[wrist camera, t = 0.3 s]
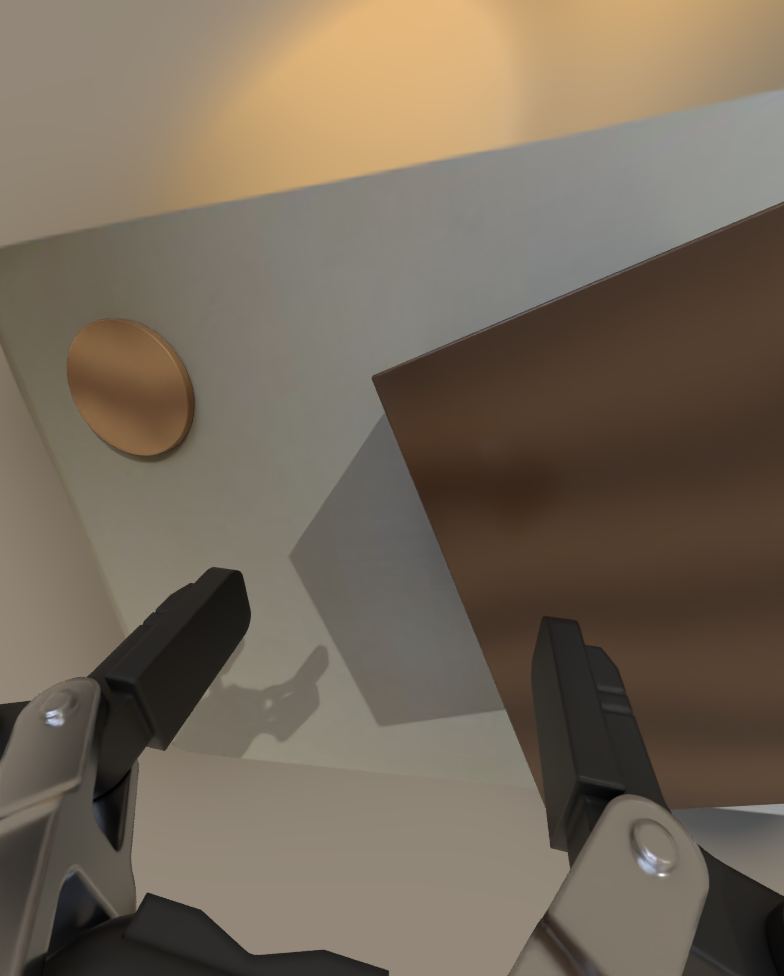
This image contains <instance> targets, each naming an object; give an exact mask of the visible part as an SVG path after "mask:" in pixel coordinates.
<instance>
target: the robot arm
mask: <svg viewBox="0 0 784 976" xmlns="http://www.w3.org/2000/svg"><path fill="white" fill-rule="evenodd" d="M250 619H251V610H250V605H249V601H248V596H247V592H246V587H245V583H244V578H243V575H242V573H241V572H240V571H238V570H231V569H224V568H217V567H212V568H210V569H208V570H207V571H206V572H205V573H204V574H203V575H202V576H201V577H200V578H199V579H198V580H197V581H196V582H195V583H190V584H188V585H186V586H185V587H183V588H181V589H180V590H178V591H176V592H175V593H173V594H171V595H170V596H169V597H168V598H167V599H166V600H165V601H164V602H163V603H162V604H161V605H160V606H159V607H158V608H157V609H156V612H155V613H154V612H153V613H152V614H151V615H150V616H149V617H148V618H147V619H146V620H145V621H144V623H143V625H140V626H139V627H138V628H137V629H136V630H135V631H134V632H133V633H131V634H130V635H129V636H128V637H127V638H126V639H125V640H124V641H123V642H122V643H121V644H120V645H119V646H118V647H117V648H116V649H115V650H114V651H113V652H112V653H111V654H110V655H109V656H108V657H107V658H106V659H105V660H104V661H103V662H102V663H101V664H100V665H99V666H98V667H97V668H96V669H95V670H94V671H93V672H92V673H91V674H90V675H88V676H87V677H77V678H72V679H68V680H65V681H62V682H60V683H58V684H55V685H53V686H52V687H50V688H48V689H46V690H45V691H43V692H42V693H40V694H39V695H38V696H37V697H35V698H34V699H33V700H32V701H25V702H16V703H8V704H0V976H389V971H388V970H385V969H382V968H379V967H375V966H373V965H370V964H367V963H363V962H360V961H357V960H354V959H351V958H348V957H345V956H342V955H339V954H335V953H332V952H329V951H326V950H314V951H302V952H291V953H279V954H267V955H253V954H250V953H248V952H247V951H246V950H245V949H243V948H242V947H241V946H240V945H239V944H238V943H237V942H236V941H235V940H233V939H232V938H231V937H230V936H229V935H228V934H227V933H226V932H225V931H224V930H223V929H221V928H220V927H219V926H218V925H217V924H216V923H215V922H214V921H213V920H212V919H210V918H209V917H208V916H207V915H206V914H205V913H204V912H203V911H202V910H200V909H197V908H194V907H190V906H187V905H184V904H181V903H178V902H175V901H171V900H169V899H166V898H163V897H159V896H156V895H153V894H150V893H147V894H146V895H145V897H144V899H143V901H142V902H141V904H140V906H139V908H138V910H137V911H136V888H135V881H134V876H133V872H132V864H131V851H132V839H133V828H134V817H135V806H136V795H137V784H138V773H139V763H138V759H137V758H138V757H139V755H140V754H141V753H142V751H143V750H144V749H145V747H146V746H147V747H151V748H155V749H160V750H163V751H165V750H166V749H167V747H168V746H169V744H170V743H171V741H172V740H173V738H174V737H175V735H176V734H177V733H178V731H179V730H180V728H181V727H182V725H183V724H184V722H185V721H186V719H187V718H188V717H189V715H190V714H191V712H192V711H193V709H194V708H195V706H196V705H197V703H198V702H199V701H200V699H201V698H202V696H203V695H204V693H205V692H206V690H207V689H208V687H209V686H210V685H211V683H212V682H213V680H214V679H215V677H216V676H217V674H218V673H219V672H220V670H221V669H222V667H223V666H224V664H225V663H226V661H227V660H228V658H229V657H230V656H231V654H232V653H233V651H234V650H235V648H236V647H237V645H238V644H239V642H240V641H241V640H242V638H243V637H244V635H245V634H246V632H247V630H248V627H249V624H250ZM531 686H532V694H533V703H534V711H535V720H536V728H537V737H538V745H539V754H540V762H541V771H542V779H543V788H544V796H545V805H546V813H547V822H548V830H549V839H550V847H551V848H553V849H557V850H561V851H565V852H568V857H569V863H570V871H569V873H568V874H567V876H566V878H565V880H564V882H563V883H562V885H561V887H560V889H559V891H558V892H557V894H556V896H555V897H554V899H553V901H552V903H551V904H550V906H549V908H548V910H547V911H546V913H545V915H544V916H543V918H542V919H541V920H540V921H539V923H538V924H537V926H536V927H535V929H534V931H533V933H532V934H531V936H530V938H529V939H528V941H527V943H526V944H525V946H524V948H523V950H522V951H521V953H520V955H519V957H518V958H517V960H516V962H515V964H514V965H513V967H512V969H511V971H510V972H509V974H508V976H784V896H782V895H780V894H778V893H777V892H774V891H773V890H771V889H769V888H767V887H766V886H764V885H762V884H760V883H758V882H757V881H755V880H753V879H751V878H749V877H747V876H746V875H744V874H742V873H740V872H738V871H737V870H735V869H733V868H731V867H729V866H727V865H726V864H724V863H723V862H721V861H719V860H718V859H716V858H714V857H713V856H712V855H711V854H709V853H708V852H707V851H705V850H704V849H703V848H701V846H699V845H698V844H697V843H696V842H695V840H694V839H693V837H692V836H691V834H690V833H689V832H688V830H687V829H686V828H685V827H684V826H683V825H682V823H681V822H680V821H679V820H678V819H677V818H676V817H675V816H674V815H672V813H671V811H670V810H669V808H668V806H667V804H666V802H665V800H664V797H663V795H662V792H661V789H660V786H659V784H658V781H657V778H656V775H655V772H654V769H653V766H652V764H651V761H650V758H649V755H648V752H647V749H646V746H645V744H644V741H643V738H642V735H641V732H640V729H639V726H638V724H637V721H636V718H635V716H633V709H632V706H631V704H630V701H629V698H628V696H626V689H625V686H624V684H623V681H622V678H621V675H620V672H619V669H618V667H617V666H616V665H615V664H614V662H613V661H612V660H611V659H610V657H609V656H608V655H607V654H606V652H605V651H604V650H603V649H602V647H596V646H590V645H585V643H584V639H583V635H582V632H581V628H580V625H579V623H578V621H577V620H572V619H565V618H558V617H551V616H543V617H542V620H541V624H540V628H539V632H538V636H537V641H536V645H535V649H534V654H533V658H532V665H531Z"/></svg>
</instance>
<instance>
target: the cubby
mask: <svg viewBox="0 0 784 976" xmlns="http://www.w3.org/2000/svg"><path fill="white" fill-rule="evenodd" d="M372 381H373V383H374V386H375V388H376V391H377V393H378V396H379V398H380V400H381V403H382V405H383V408H384V410H385V413H386V415H387V418H388V420H389V423H390V425H391V428H392V430H393V433H394V435H395V438H396V440H397V442H398V445H399V447H400V450H401V452H402V455H403V457H404V460H405V462H406V465H407V467H408V470H409V472H410V475H411V477H412V479H413V482H414V484H415V487H416V489H417V492H418V494H419V497H420V499H421V502H422V504H423V507H424V509H425V512H426V514H427V516H428V519H429V521H430V524H431V526H432V529H433V531H434V534H435V536H436V539H437V541H438V544H439V546H440V549H441V551H442V554H443V556H444V558H445V561H446V563H447V566H448V568H449V571H450V573H451V576H452V578H453V581H454V583H455V586H456V588H457V591H458V593H459V595H460V598H461V600H462V603H463V605H464V608H465V610H466V613H467V615H468V618H469V620H470V623H471V625H472V628H473V630H474V632H475V635H476V637H477V640H478V642H479V645H480V647H481V650H482V652H483V655H484V657H485V660H486V662H487V665H488V667H489V669H490V672H491V674H492V677H493V679H494V682H495V684H496V687H497V689H498V692H499V694H500V697H501V699H502V702H503V704H504V707H505V709H506V711H507V714H508V716H509V719H510V721H511V724H512V726H513V729H514V731H515V734H516V736H517V739H518V741H519V744H520V746H521V748H522V751H523V753H524V756H525V758H526V761H527V763H528V766H529V768H530V771H531V773H532V776H533V778H534V781H535V783H536V785H537V788H538V790H539V793H540V795H541V798H542V800H543V803H544V805H545V796H544V788H543V779H542V771H541V762H540V754H539V745H538V737H537V728H536V720H535V711H534V703H533V694H532V686H531V665H532V658H533V654H534V649H535V645H536V641H537V636H538V632H539V628H540V624H541V620H542V617H543V616H551V617H558V618H565V619H572V620H577V621H578V623H579V625H580V628H581V632H582V635H583V639H584V643H585V645H590V646H596V647H602V649H603V650H604V651H605V652H606V654H607V655H608V656H609V657H610V659H611V660H612V661H613V662H614V664H615V665H616V666H617V667H618V669H619V672H620V675H621V678H622V681H623V684H624V686H625V689H626V696H628V698H629V701H630V704H631V706H632V709H633V716H635V718H636V721H637V724H638V726H639V729H640V732H641V735H642V738H643V741H644V744H645V746H646V749H647V752H648V755H649V758H650V761H651V764H652V766H653V769H654V772H655V775H656V778H657V781H658V784H659V786H660V789H661V792H662V795H663V797H664V800H665V802H666V804H667V806H668V808H669V810H675V809H693V808H713V807H731V806H749V805H767V804H784V202H782V203H779V204H777V205H774V206H772V207H770V208H767V209H765V210H763V211H760V212H758V213H756V214H753V215H751V216H749V217H746V218H744V219H741V220H739V221H737V222H734V223H732V224H730V225H727V226H725V227H723V228H720V229H718V230H715V231H713V232H711V233H708V234H706V235H704V236H701V237H699V238H697V239H694V240H692V241H690V242H687V243H685V244H682V245H680V246H678V247H675V248H673V249H671V250H668V251H666V252H664V253H661V254H659V255H656V256H654V257H652V258H649V259H647V260H645V261H642V262H640V263H638V264H635V265H633V266H631V267H628V268H626V269H623V270H621V271H619V272H616V273H614V274H612V275H609V276H607V277H605V278H602V279H600V280H598V281H595V282H593V283H590V284H588V285H586V286H583V287H581V288H579V289H576V290H574V291H572V292H569V293H567V294H564V295H562V296H560V297H557V298H555V299H553V300H550V301H548V302H546V303H543V304H541V305H539V306H536V307H534V308H531V309H529V310H527V311H524V312H522V313H520V314H517V315H515V316H513V317H510V318H508V319H506V320H503V321H501V322H498V323H496V324H494V325H491V326H489V327H487V328H484V329H482V330H480V331H477V332H475V333H472V334H470V335H468V336H465V337H463V338H461V339H458V340H456V341H454V342H451V343H449V344H447V345H444V346H442V347H439V348H437V349H435V350H432V351H430V352H428V353H425V354H423V355H421V356H418V357H416V358H414V359H411V360H409V361H406V362H404V363H402V364H399V365H397V366H395V367H392V368H390V369H388V370H385V371H383V372H380V373H378V374H376V375H373V376H372ZM545 808H546V805H545Z"/></svg>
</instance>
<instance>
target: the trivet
mask: <svg viewBox="0 0 784 976" xmlns="http://www.w3.org/2000/svg"><path fill="white" fill-rule="evenodd" d="M67 376H68V383H69V387H70V391H71V394H72V397H73V399H74V402H75V404H76V406H77V408H78V410H79V412H80V413H81V415H82V416H83V418H84V419H85V421H86V422H87V423H88V425H89V426H90V427H91V428H92V429H93V430H94V431H95V432H96V433H97V434H98V435H99V436H100V437H101V438H102V439H104V440H105V441H106V442H107V443H109V444H111V445H112V446H114V447H115V448H118V449H120V450H122V451H124V452H127V453H130V454H135V455H143V456H148V455H156V454H160V453H162V452H165V451H167V450H170V449H172V448H173V447H175V446H176V445H178V444H179V443H180V442H181V441H182V440H183V438H184V437H185V436H186V434H187V432H188V431H189V429H190V426H191V423H192V420H193V415H194V395H193V389H192V385H191V381H190V378H189V376H188V373H187V371H186V369H185V367H184V365H183V363H182V361H181V360H180V358H179V357H178V355H177V354H176V352H175V351H174V350H173V349H172V347H171V346H170V345H169V344H168V343H167V342H166V341H165V340H164V339H163V338H162V337H160V336H159V335H158V334H157V333H155V332H154V331H152V330H151V329H149V328H147V327H145V326H143V325H141V324H139V323H136V322H133V321H129V320H123V319H104V320H99V321H96V322H93V323H91V324H89V325H88V326H86V327H85V328H83V329H82V330H81V331H80V332H79V333H78V335H77V336H76V337H75V339H74V341H73V342H72V345H71V347H70V350H69V354H68V359H67Z"/></svg>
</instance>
